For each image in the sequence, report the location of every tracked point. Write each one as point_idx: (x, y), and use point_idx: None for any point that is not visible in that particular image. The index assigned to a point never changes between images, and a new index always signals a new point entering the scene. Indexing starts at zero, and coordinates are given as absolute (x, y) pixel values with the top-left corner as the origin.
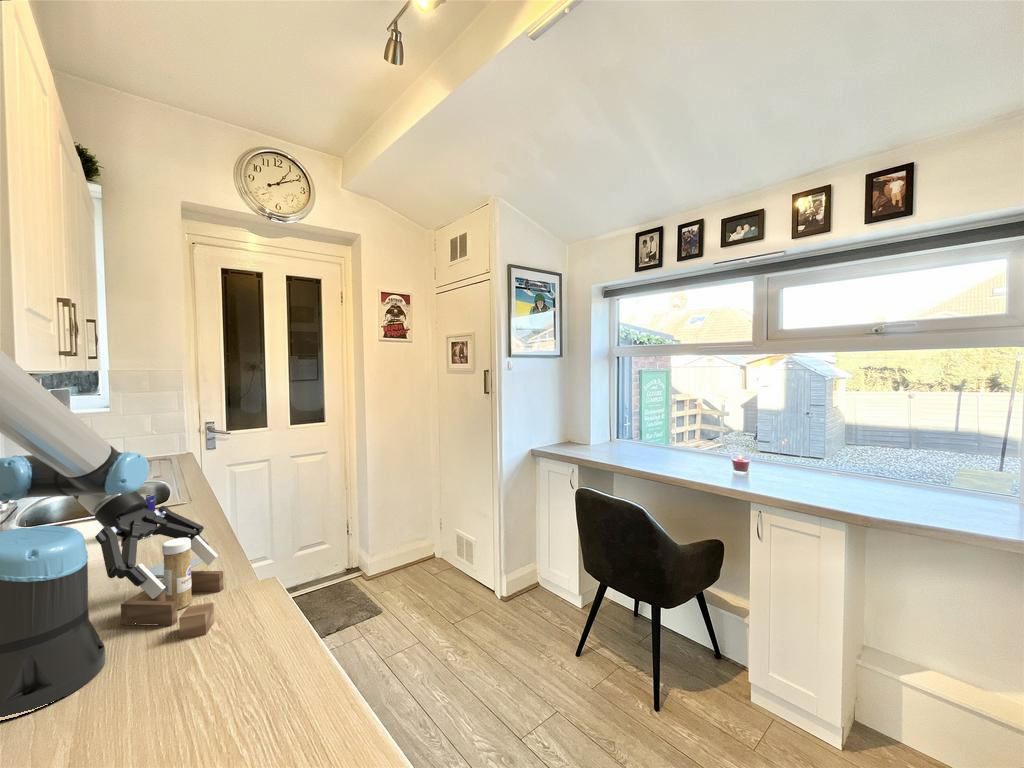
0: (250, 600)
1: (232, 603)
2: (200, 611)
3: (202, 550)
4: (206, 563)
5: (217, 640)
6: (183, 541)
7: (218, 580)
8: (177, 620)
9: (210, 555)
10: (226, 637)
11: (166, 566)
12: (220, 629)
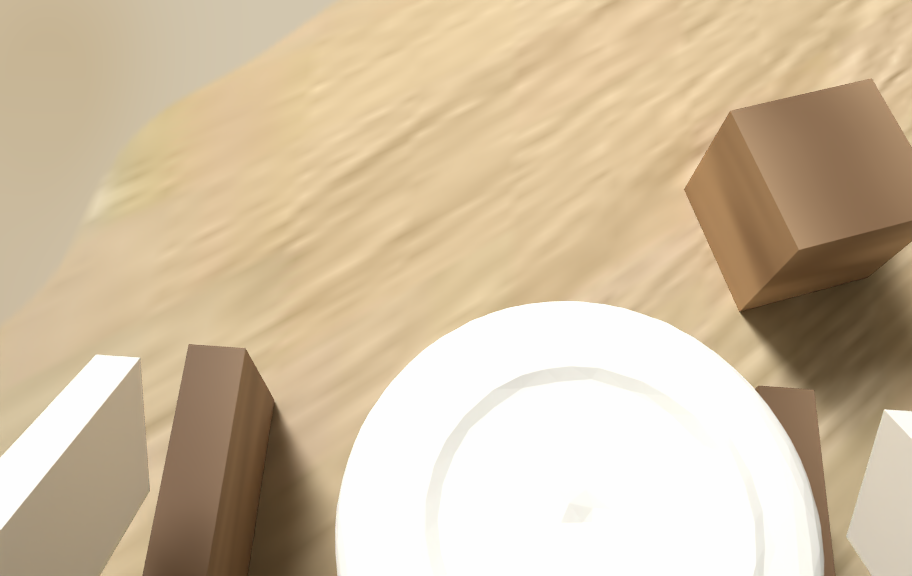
0: (425, 116)
1: (459, 207)
2: (852, 124)
3: (62, 528)
4: (140, 500)
5: (842, 74)
6: (599, 356)
7: (257, 377)
8: None
9: (114, 425)
10: (811, 46)
11: None
12: None
